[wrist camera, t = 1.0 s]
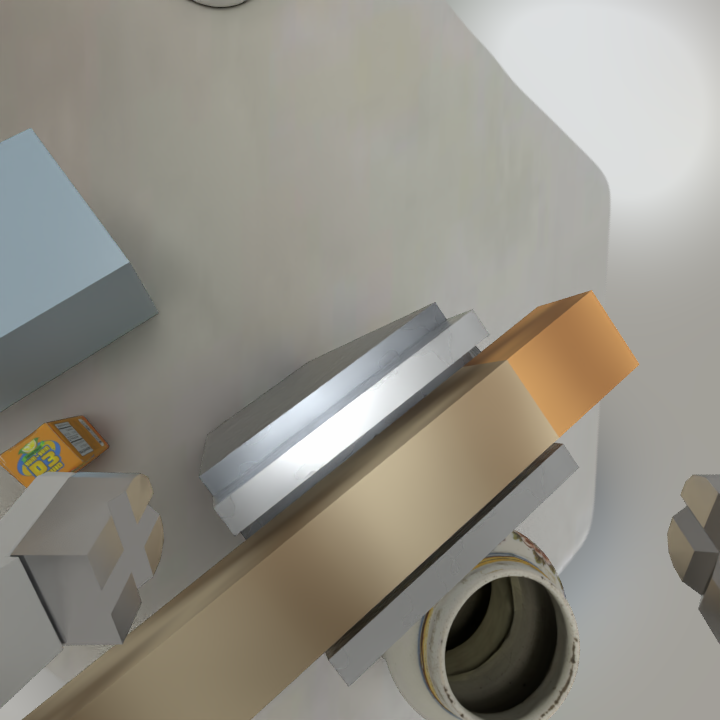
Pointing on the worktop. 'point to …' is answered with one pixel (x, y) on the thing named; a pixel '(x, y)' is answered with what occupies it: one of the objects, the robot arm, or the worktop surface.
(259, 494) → the housing tower
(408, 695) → the apothecary jar
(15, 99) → the worktop surface
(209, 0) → the fruit juice
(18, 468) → the supplement box
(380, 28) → the worktop surface
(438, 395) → the tan wooden bar
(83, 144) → the worktop surface
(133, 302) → the pale blue brick
